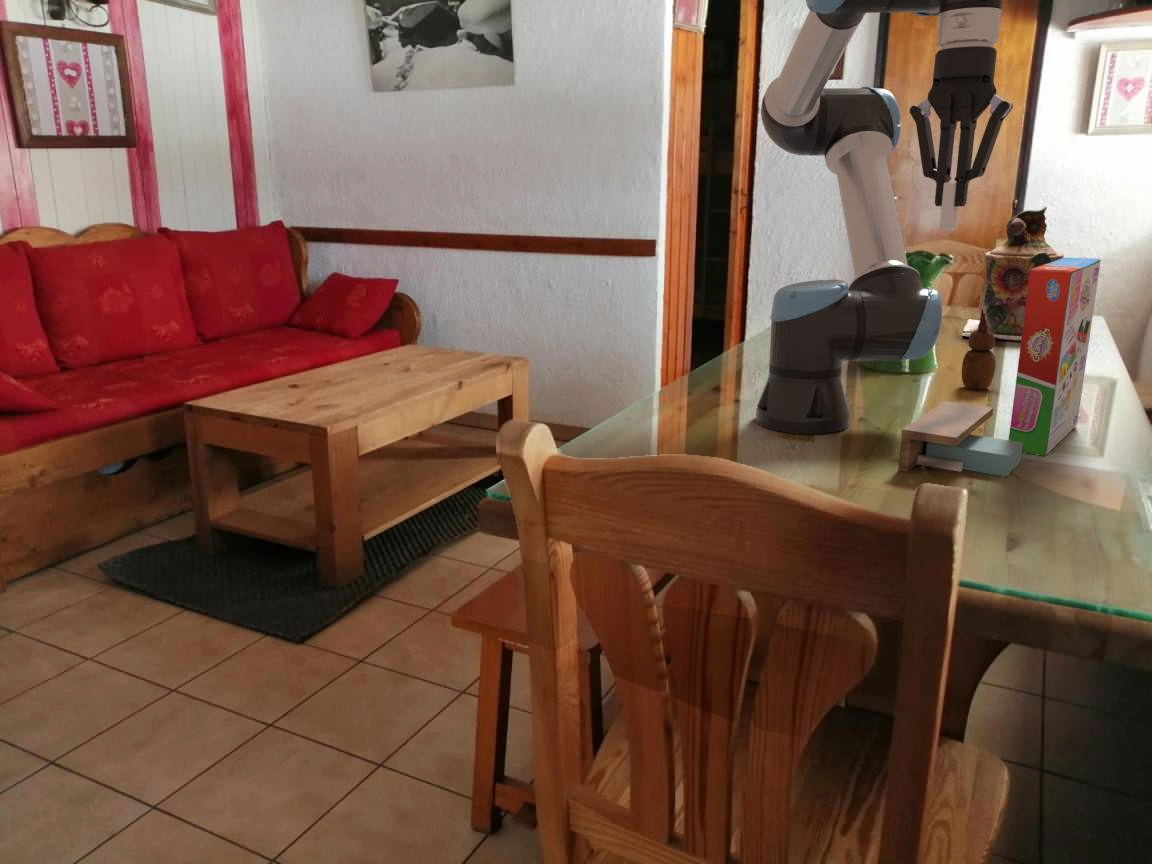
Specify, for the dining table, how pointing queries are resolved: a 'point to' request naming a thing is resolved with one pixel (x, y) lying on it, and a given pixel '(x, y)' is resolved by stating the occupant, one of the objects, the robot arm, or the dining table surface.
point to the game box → (1053, 352)
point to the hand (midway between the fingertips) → (947, 231)
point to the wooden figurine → (979, 358)
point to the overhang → (940, 433)
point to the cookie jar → (1012, 275)
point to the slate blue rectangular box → (981, 454)
